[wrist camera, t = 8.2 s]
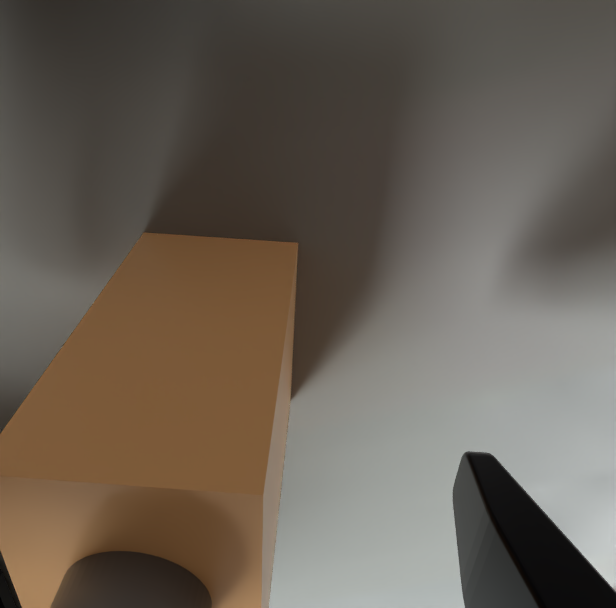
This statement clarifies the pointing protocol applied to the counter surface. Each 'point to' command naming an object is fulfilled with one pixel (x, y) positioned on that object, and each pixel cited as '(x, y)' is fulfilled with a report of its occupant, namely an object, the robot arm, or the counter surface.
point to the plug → (158, 435)
